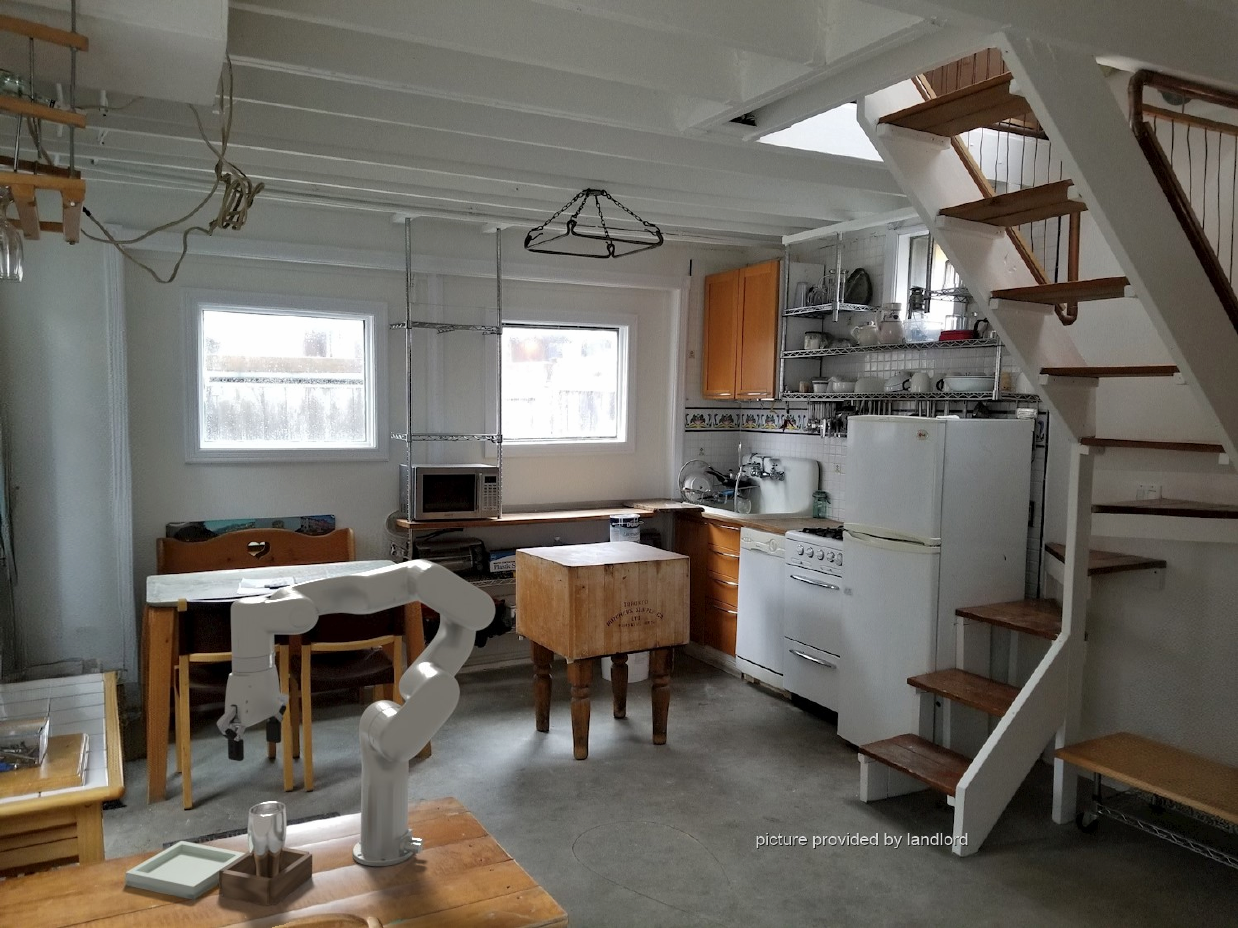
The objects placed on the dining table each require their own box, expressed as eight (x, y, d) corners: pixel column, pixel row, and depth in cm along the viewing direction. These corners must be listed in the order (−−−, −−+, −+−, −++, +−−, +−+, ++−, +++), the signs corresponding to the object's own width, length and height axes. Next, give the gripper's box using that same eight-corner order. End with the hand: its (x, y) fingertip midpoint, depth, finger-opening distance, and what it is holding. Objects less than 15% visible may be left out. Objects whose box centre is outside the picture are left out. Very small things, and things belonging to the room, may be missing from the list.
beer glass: (272, 896, 167) (273, 817, 166) (239, 891, 168) (240, 813, 167) (293, 878, 173) (293, 802, 173) (261, 873, 175) (261, 799, 174)
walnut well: (313, 875, 175) (314, 852, 175) (272, 906, 163) (272, 882, 163) (261, 864, 178) (261, 842, 178) (216, 894, 167) (217, 871, 166)
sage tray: (245, 865, 178) (245, 852, 178) (193, 899, 165) (193, 886, 165) (181, 852, 183) (181, 840, 183) (125, 884, 169) (125, 872, 169)
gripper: (270, 649, 178) (272, 733, 179) (202, 672, 162) (204, 764, 163) (300, 653, 175) (302, 737, 176) (234, 676, 159) (236, 769, 160)
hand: (255, 750), depth 170 cm, fingers open, 9 cm apart
